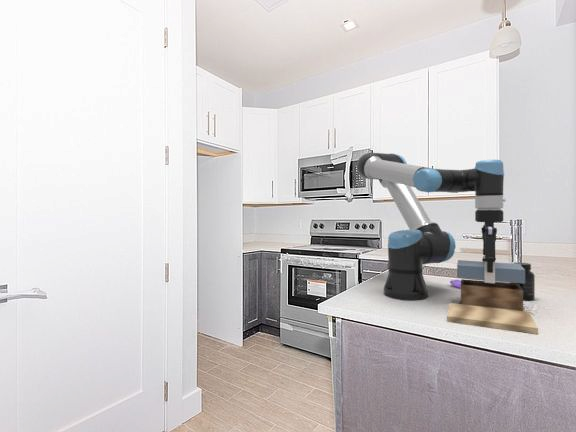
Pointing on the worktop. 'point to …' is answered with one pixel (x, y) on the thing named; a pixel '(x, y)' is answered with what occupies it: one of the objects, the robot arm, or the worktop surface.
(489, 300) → the walnut spice box
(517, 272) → the slate lid
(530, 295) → the supplement bottle
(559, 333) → the worktop surface
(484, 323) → the oak cutting board
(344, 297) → the worktop surface
